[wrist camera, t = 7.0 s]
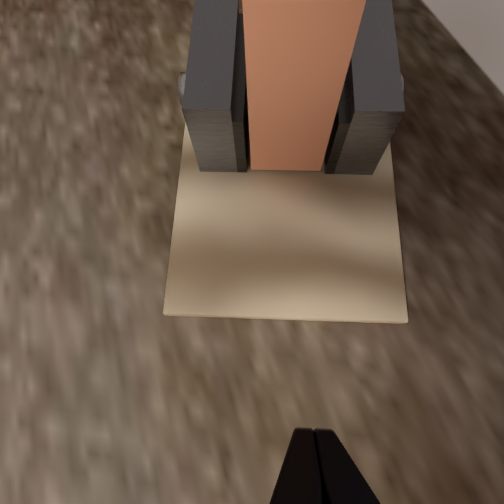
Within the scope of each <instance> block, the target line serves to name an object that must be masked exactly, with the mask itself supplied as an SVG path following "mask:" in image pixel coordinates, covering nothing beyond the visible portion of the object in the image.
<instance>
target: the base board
mask: <svg viewBox="0 0 504 504" xmlns="http://www.w3.org/2000/svg"><path fill="white" fill-rule="evenodd" d="M163 314H164V315H165V316H192V317H222V318H251V319H280V320H310V321H339V322H369V323H398V324H405V323H407V322H408V314H407V305H406V295H405V285H404V275H403V265H402V255H401V245H400V235H399V226H398V216H397V206H396V196H395V186H394V176H393V166H392V156H391V146H390V142H389V144H388V146H387V148H386V150H385V152H384V154H383V155H382V157H381V159H380V161H379V163H378V165H377V167H376V169H375V171H374V173H373V175H348V174H325V173H324V160H323V164H322V167H321V171H298V170H251V157H250V138H249V137H248V157H247V173H245V172H200V170H199V166H198V163H197V159H196V156H195V153H194V149H193V146H192V142H191V139H190V135H189V132H188V128H187V125H186V123H185V132H184V140H183V149H182V157H181V166H180V174H179V182H178V191H177V199H176V208H175V216H174V224H173V233H172V241H171V250H170V258H169V266H168V275H167V283H166V292H165V300H164V309H163Z"/></svg>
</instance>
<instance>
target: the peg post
mask: <svg viewBox="0 0 504 504" xmlns="http://www.w3.org/2000/svg"><path fill="white" fill-rule="evenodd" d="M242 3H243V23H244V42H245V61H246V80H247V99H248V118H249V138H250V157H251V170H298V171H321V167H322V164H323V160H324V156H325V153H326V149H327V145H328V141H329V138H330V134H331V130H332V126H333V123H334V119H335V115H336V111H337V108H338V104H339V100H340V96H341V93H342V89H343V85H344V82H345V78H346V74H347V70H348V67H349V63H350V59H351V55H352V52H353V48H354V44H355V40H356V37H357V33H358V29H359V25H360V22H361V18H362V14H363V11H364V7H365V3H366V0H242Z"/></svg>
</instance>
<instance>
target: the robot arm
mask: <svg viewBox="0 0 504 504" xmlns="http://www.w3.org/2000/svg"><path fill="white" fill-rule="evenodd" d="M270 504H380V502H379V500H378V499H377V497H376V496H375V494H374V493H373V491H372V490H371V488H370V487H369V485H368V483H367V482H366V480H365V479H364V477H363V476H362V474H361V473H360V471H359V469H358V468H357V466H356V465H355V463H354V462H353V460H352V459H351V457H350V456H349V454H348V452H347V451H346V449H345V448H344V446H343V445H342V443H341V442H340V440H339V438H338V437H337V435H336V434H335V432H334V431H333V430H331V429H323V428H316V429H314V431H313V429H311V428H300V427H297V428H295V429H294V431H293V434H292V437H291V440H290V443H289V446H288V449H287V452H286V455H285V458H284V461H283V464H282V468H281V471H280V474H279V477H278V480H277V483H276V486H275V489H274V492H273V495H272V498H271V501H270Z"/></svg>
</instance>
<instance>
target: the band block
mask: <svg viewBox="0 0 504 504" xmlns="http://www.w3.org/2000/svg"><path fill="white" fill-rule="evenodd" d="M178 90H179V99H180V103H181V106H182V111H183V115H184V118H185V121H186V125H187V128H188V132H189V135H190V139H191V142H192V146H193V149H194V153H195V156H196V159H197V163H198V166H199V170H200V172H245V173H247V157H248V137H249V118H248V99H247V80H246V61H245V42H244V23H243V14H239V0H195V7H194V15H193V23H192V31H191V39H190V47H189V55H188V63H187V71H186V72H180V74H179V80H178ZM403 90H404V79H403V75H402V74H401V72H400V64H399V56H398V48H397V39H396V31H395V23H394V15H393V6H392V0H366V3H365V7H364V11H363V14H362V18H361V22H360V25H359V29H358V33H357V37H356V40H355V44H354V48H353V52H352V55H351V59H350V63H349V67H348V70H347V74H346V78H345V82H344V85H343V89H342V93H341V96H340V100H339V104H338V108H337V111H336V115H335V119H334V123H333V126H332V130H331V134H330V138H329V141H328V145H327V149H326V153H325V156H324V173H325V174H348V175H373V173H374V171H375V169H376V167H377V165H378V163H379V161H380V159H381V157H382V155H383V154H384V152H385V150H386V148H387V146H388V144H389V142H390V140H391V138H392V136H393V134H394V132H395V130H396V128H397V126H398V125H399V123H400V121H401V119H402V117H403V115H404V113H405V105H404V97H403Z"/></svg>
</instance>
